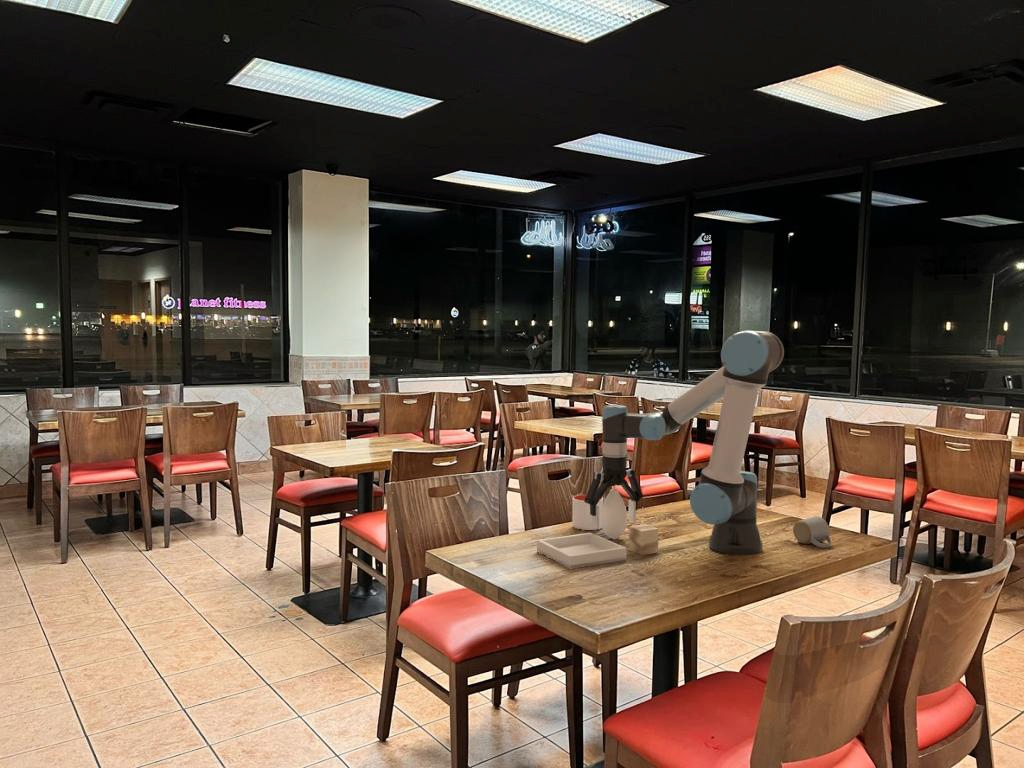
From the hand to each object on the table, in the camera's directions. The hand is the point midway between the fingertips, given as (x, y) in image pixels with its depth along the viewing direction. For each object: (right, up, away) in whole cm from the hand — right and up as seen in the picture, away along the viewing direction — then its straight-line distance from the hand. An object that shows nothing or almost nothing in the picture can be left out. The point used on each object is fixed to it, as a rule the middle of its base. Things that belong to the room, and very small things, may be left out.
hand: (613, 523), depth 228 cm
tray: (-12, -6, -18) cm, 22 cm away
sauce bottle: (0, -5, 0) cm, 5 cm away
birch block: (+7, -6, -13) cm, 16 cm away
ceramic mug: (+60, -5, -5) cm, 60 cm away
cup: (-7, -4, +14) cm, 16 cm away
